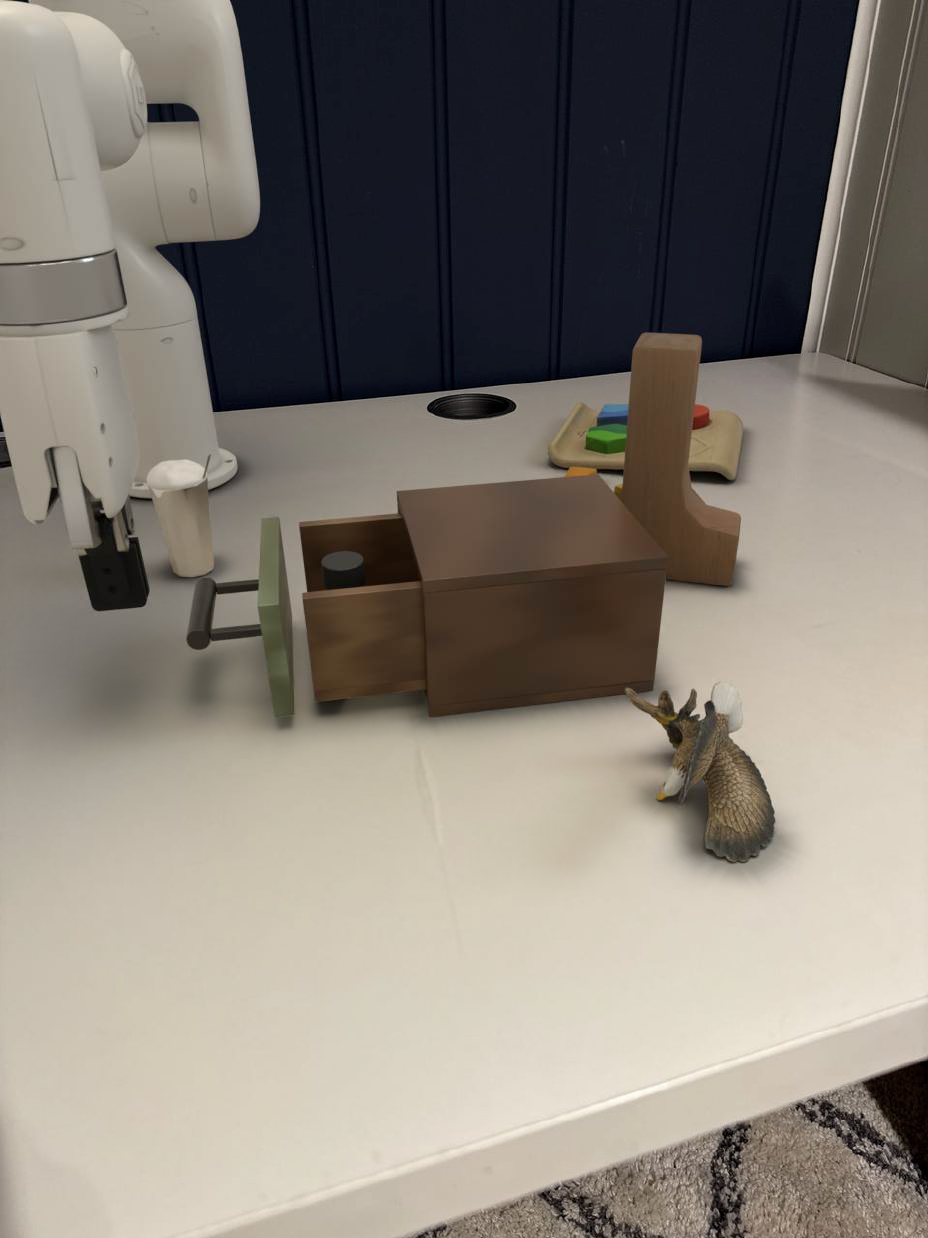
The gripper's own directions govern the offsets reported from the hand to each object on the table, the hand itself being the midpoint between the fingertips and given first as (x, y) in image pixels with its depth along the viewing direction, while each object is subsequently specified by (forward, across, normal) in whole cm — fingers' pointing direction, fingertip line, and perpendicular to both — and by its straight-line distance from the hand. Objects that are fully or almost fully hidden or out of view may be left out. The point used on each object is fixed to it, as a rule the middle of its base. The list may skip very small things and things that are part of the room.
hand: (122, 602), depth 55 cm
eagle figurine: (+7, +17, +31) cm, 36 cm away
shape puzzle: (+7, -33, +46) cm, 57 cm away
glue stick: (+5, 0, +14) cm, 14 cm away
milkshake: (+7, -17, +2) cm, 19 cm away
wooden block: (+7, -9, +40) cm, 42 cm away
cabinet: (+7, 0, +25) cm, 26 cm away
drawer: (+6, 0, +13) cm, 14 cm away
